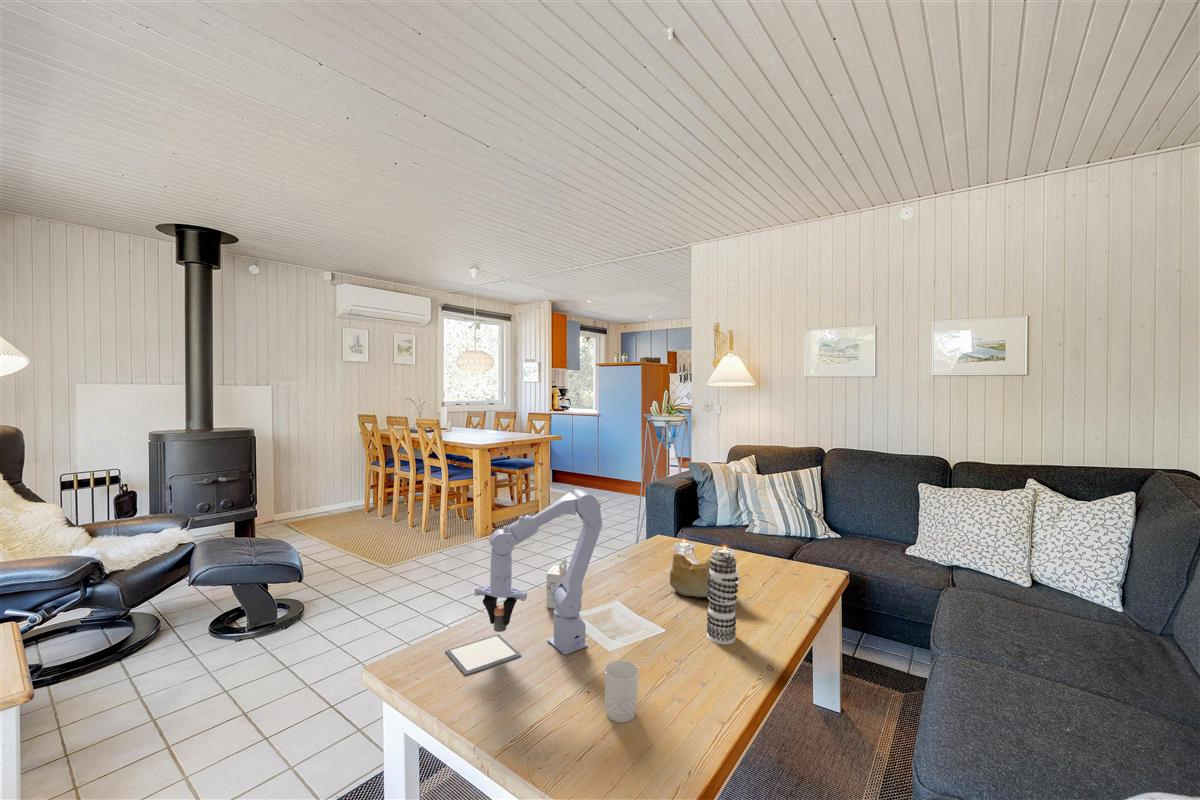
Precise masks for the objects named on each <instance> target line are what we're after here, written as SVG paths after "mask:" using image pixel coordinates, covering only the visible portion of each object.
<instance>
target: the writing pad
mask: <svg viewBox="0 0 1200 800" xmlns="http://www.w3.org/2000/svg"><path fill="white" fill-rule="evenodd" d="M444 653H445V654H446V656H447V657H449V659H450V660H451V661H452V662H453V664H454V665H455V666H456V667H457V668H458V669H459V671H460V672H461V673H462V674H463V675H464V677H467V676H469V675H473V674H475V673H479V672H481V671H484V670H487V669H489V668H493V667H495V666H498V665H500V664H504V663H507V662H510V661H514V660H516V659H518V658H521V657H522V654H521V653H520V652H518V651H517V650H516V649H515V648H514V647H513V646H512V645H511V644H509V642H507V641H506V640H505V639H504V637H502V636H501V635H500V634H495V635H492V636H491V635H490V636H488V637H485V638H483V639H479V640H475V641H472V642H469V643H465V644H463V645H459V646H457V647H453V648H450V649H446V650H445V651H444Z"/></svg>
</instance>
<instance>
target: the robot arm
mask: <svg viewBox="0 0 1200 800" xmlns="http://www.w3.org/2000/svg"><path fill="white" fill-rule="evenodd" d="M601 507H602V506H601V504H600V503H599V501H598V499H597V498H596V497H595V496H594V495H593V494H590V493H589V492H587V490H585V489H583V488H576V489H574V490H572V491H570V492H567V493H566V494H565V495H563V496H562V497H560V498H559V499H558V500H556V501H554V502H553V503H551V504H550V505H549V506H547V507H546V508H544V509H542V510H541V511H539V512H538V513H536V514H534V515H533V516H532V515H528V514H527V515H525V516H523V515H520V516H518V520H516V521H514V522H512V523H510V524H509V525H504V526H503V528H502V529H501V528H498V529H497V530H495V531H493V533H492V534H491V536H490V538H489V545H490V546H491V547H492V548H491V557H490V577H489V578H490V586H477V587H475V588H474V596H476V597H479V596H484V597H483V599H482V604H483V606H484V607H485V609H486V611H487V614H488V617H489V622H490V625H494V607H495V606H496V605H498V598H503V599H505V600H504V601H503V602H502V605H504V612H505V618H504V625H505V626H506V627H507V626H508V625H509V624H510V621H511V617H512V612H513V610H514V609H515V608H514V607H515V606H516V603H517V602H518V600H519V601H521V602H525V601H526V600H527V598H528V597H527V596H528V592H527V591H525V590H521V589H517V588H514V587H512V579H513V577H512V572H513V571H512V569H513V568H512V567H513V566H512V565H513V559H512V557H513V556H512V552H513V550H514V548H515V546H517V545H519V544H521V543H522V542H525V541H527V540H528V539H529V538H531V537H532V536H535V535H536V534H537V533H538V530H539V528H540V527H541V526H543V525H545V524H547V523H549V522H551V521H553V520H555V519H556V518H559V517H560V516H562V515H564V514H565V515H571V516H572V515H573V516H576V515H577V514H578V516H579V518H580V520H581V522H582V528H581V530H580V533H579V535H578V538H577V542H576V544H575V546H574V547H575V548H574V550H573V553H572V556H571V559H570V561H569V565H568V566H567V573H566V575H565V576H564V577H563V578H562V579H561V581H560V583H559V585H558V586H557V587H556V588H555V589H554V591H553V600H554V602H555V603H556V607H555V608H553V609H554V610H553V637H550V638H547V640H546V641H547V642H548V643H549V644H550V645H552V647H554V648H555V649H557V650H559V652H561V653H562V654H563V655H568V654H571V653H573V652H576V651H579V650H582V649H584V648H587V647H588V643H586V623H585V622H584V621H583V620H582V618H581V616H580V611H581V609H582V597H583V594H584V592H583V582H584V579H585V576H586V573H587V570H588V567H589V564H590V562H591V559H592V556H593V552H594V550H595V547H596V544H597V542H598V538H599V536H600V532H601V530H602V528H603V519H602V514H601Z"/></svg>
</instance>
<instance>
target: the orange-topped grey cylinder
mask: <svg viewBox="0 0 1200 800" xmlns="http://www.w3.org/2000/svg"><path fill="white" fill-rule="evenodd" d="M504 618H505V612H504V605H503V604H496V606H495V607H494V623H493V631H494V632H498V633H502V632H504V631H506V630H507V626H505V625H504Z"/></svg>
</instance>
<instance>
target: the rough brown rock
mask: <svg viewBox="0 0 1200 800" xmlns="http://www.w3.org/2000/svg"><path fill="white" fill-rule="evenodd" d="M710 561H711V560H710V559H708V560H706V562H704V563H694V562H693V563H692V562H691V560H689V559H687V558H686V557H685V555H683V554H681V553H675V554H673V555H672V563H671V565H672V566H671V569H670V572H669V585H670V586H671V587H672V588H673V589H674V591H675V592H677V594H680V595H682V596H685V597H697V598H708V593H707V592H708V589H707V587H708V584H707V583H708V582H707V580H708V577H707V575H708V573H710ZM709 577H711V576H709ZM709 582H710V581H709Z"/></svg>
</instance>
